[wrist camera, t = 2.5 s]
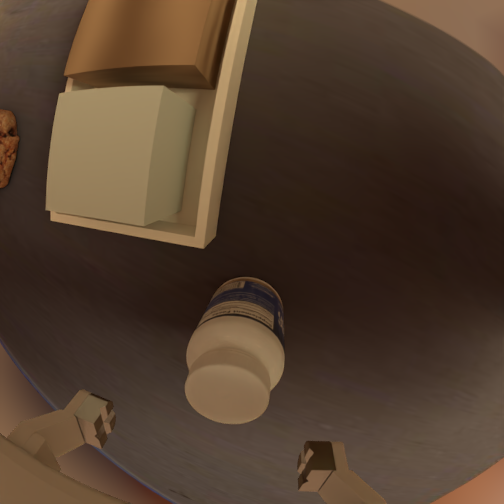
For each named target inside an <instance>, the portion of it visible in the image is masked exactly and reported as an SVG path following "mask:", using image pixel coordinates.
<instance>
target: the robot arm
mask: <svg viewBox="0 0 504 504" xmlns="http://www.w3.org/2000/svg"><path fill="white" fill-rule="evenodd" d="M113 407H114V405H113V402H112V401H110V400H107V399H105V398H102V397H100V396H98V395H95V394H93V393H90V392H88V391H86V390H83V389H81V390H79V391H78V393H77V394H76V395H75V396H74V398H73V399H72V400H71V401H70V403H69V404H68V405H67V406H66V407H65V409H64V410H61V409H60V410H57V411H54V412H51V413H48V414H45V415H42V416H38V417H35V418H32V419H28V420H25V421H21V422H20V423H19V424H18V426H16V428H15V429H14V430H13V431H12V432H11V433H10V435H9V436H8V437H7V438H6V437H5V436H3V435H2V434H1V433H0V504H131V503H128V502H125V501H123V500H120V499H118V498H115V497H112V496H110V495H108V494H105V493H103V492H100V491H98V490H96V489H94V488H91V487H89V486H87V485H85V484H83V483H81V482H79V481H77V480H75V479H73V478H71V477H69V476H66V475H65V474H63V473H61V472H60V470H61V468H60V465H59V464H58V462H57V460H56V459H55V458H57V457H59V456H61V455H63V454H65V453H67V452H69V451H71V450H73V449H75V448H77V447H79V446H81V445H82V444H84V443H85V442H86V443H88V444H91V445H93V446H96V447H98V448H101V449H102V448H103V446H104V444H105V443H106V441H107V439H108V438H107V435H106V434H108V433H111V432H112V430H113V429H114V426H115V422H116V415H115V413H114V412H113V410H112V409H113ZM297 470H298V472H299V473H300V476H299V478H298V490H299V491H317V492H318V493H319V495H320V496H321V497H322V498H323V500H324V501H325V502H326V504H386V500H385V499H383V498H382V497H381V496H380V495H379V494H378V493H377V492H375V491H374V490H373V489H372V488H371V487H370V486H369V485H368V484H366V483H365V482H364V481H363V480H362V479H361V478H360V477H359V476H358V475H357V474H356V473H354V472H353V471H352V470H349V468H348V463H347V459H346V454H345V449H344V445H343V443H342V442H330V441H306V442H305V444H304V450H303V451H301V453H300V455H299V458H298V464H297Z"/></svg>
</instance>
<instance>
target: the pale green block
mask: <svg viewBox="0 0 504 504" xmlns="http://www.w3.org/2000/svg"><path fill="white" fill-rule="evenodd" d="M196 110H197V109H195V108H194V107H193V106H191V105H190V104H189V103H187V102H186V101H184V100H183V99H182V98H180V97H179V96H178V95H176V94H175V93H174V92H172V91H171V90H169V89H168V88H167V87H165V86H125V87H109V88H97V89H88V90H79V91H71V92H64V93H59V97H58V102H57V107H56V112H55V118H54V124H53V130H52V137H51V144H50V153H49V162H48V173H47V188H46V210H49V211H55V212H61V213H67V214H73V215H79V216H85V217H92V218H98V219H104V220H110V221H116V222H121V223H127V224H133V225H139V226H146V225H148V224H150V223H153V222H155V221H158V220H160V219H162V218H165V217H167V216H170V215H172V214H175V213H177V212H180V211H181V210H182V202H183V194H184V186H185V178H186V171H187V164H188V157H189V151H190V145H191V138H192V132H193V126H194V121H195V115H196Z"/></svg>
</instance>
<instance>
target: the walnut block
mask: <svg viewBox="0 0 504 504" xmlns="http://www.w3.org/2000/svg"><path fill="white" fill-rule="evenodd" d="M234 2H235V0H89V2H88V4H87V6H86V9H85V11H84V14H83V16H82V19H81V22H80V24H79V27H78V30H77V33H76V35H75V38H74V41H73V45H72V48H71V51H70V54H69V57H68V61H67V64H66V68H65V72H64V76H66V77H69V78H72V79H75V80H77V81H80V82H83V83H85V84H88V85H91V86H93V87H96V88H109V87H125V86H165V87H167V88H188V89H208V90H215V86H216V81H217V76H218V71H219V67H220V62H221V57H222V53H223V48H224V44H225V39H226V35H227V31H228V26H229V22H230V18H231V14H232V10H233V6H234Z"/></svg>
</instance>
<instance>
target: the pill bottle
mask: <svg viewBox="0 0 504 504" xmlns="http://www.w3.org/2000/svg"><path fill="white" fill-rule="evenodd" d="M186 360H187V365H188V369H189V374H188V377H187V380H186V383H185V395H186V397H187V400H188V401H189V403H190V405H191V406H192V407H193V408H194V409H195V410H196V411H197V412H198V413H200V414H201V415H203V416H204V417H206V418H209V419H211V420H213V421H216V422H220V423H225V424H242V423H246V422H250V421H252V420H254V419H256V418H258V417H259V416H260V415H261V414H263V413H264V411H265V410H266V408H267V406H268V403H269V397H270V391H271V390H272V389H273V388H274V387H275V386H276V384H277V383H278V382H279V380H280V378H281V376H282V373H283V370H284V362H285V351H284V312H283V305H282V301H281V299H280V297H279V295H278V293H277V292H276V291H275V290H274V289H273V288H272V287H271V286H270V285H269V284H268V283H266V282H264V281H262V280H260V279H257V278H253V277H238V278H234V279H231V280H229V281H227V282H225V283H224V284H223V285H221V286H220V287H219V288H218V289H217V291H216V292H215V294H214V295H213V297H212V298H211V301H210V303H209V305H208V307H207V309H206V311H205V312H204V314H203V316H202V318H201V320H200V321H199V323H198V325H197V327H196V329H195V331H194V333H193V335H192V337H191V339H190V341H189V344H188V347H187V353H186Z"/></svg>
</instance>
